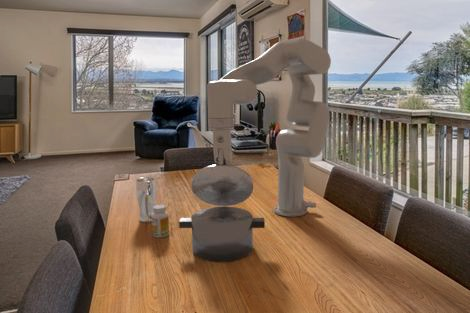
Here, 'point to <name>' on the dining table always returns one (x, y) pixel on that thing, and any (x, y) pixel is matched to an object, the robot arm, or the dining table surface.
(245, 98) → the robot arm
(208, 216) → the cooking pot
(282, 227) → the dining table surface
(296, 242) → the dining table surface
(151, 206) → the beer glass
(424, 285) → the dining table surface
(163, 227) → the supplement bottle
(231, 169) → the cooker lid
